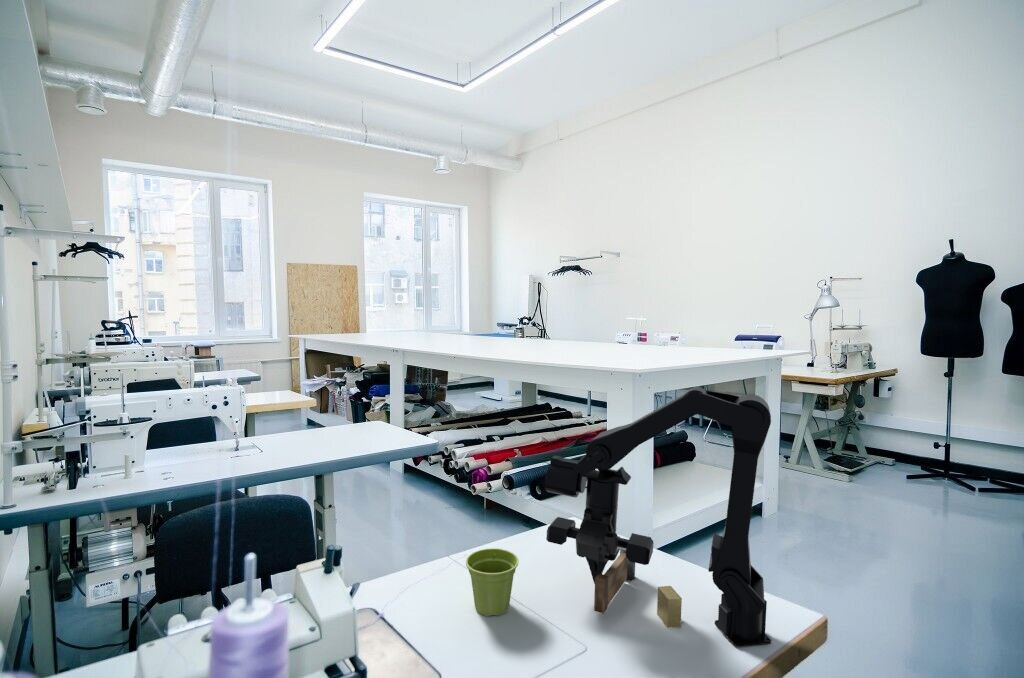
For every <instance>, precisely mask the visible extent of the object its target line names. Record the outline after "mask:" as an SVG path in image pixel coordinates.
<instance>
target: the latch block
mask: <svg viewBox="0 0 1024 678" xmlns="http://www.w3.org/2000/svg"><path fill="white" fill-rule="evenodd" d="M682 601H683V599H682V597H681V596H680V594H679V593H677V591H676V590H675V589H674V587H673V586H672V585H664V586H663V585H662V586H661V585H660V586H657V603H656V607H657V608H656V615H657V616H658V617H659V619H660V620H661V622H662V623H663V625H664V626H665V627H666V628H667V629H672V628H680V627H681V626H682V625H681V624H682V603H683V602H682Z"/></svg>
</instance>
